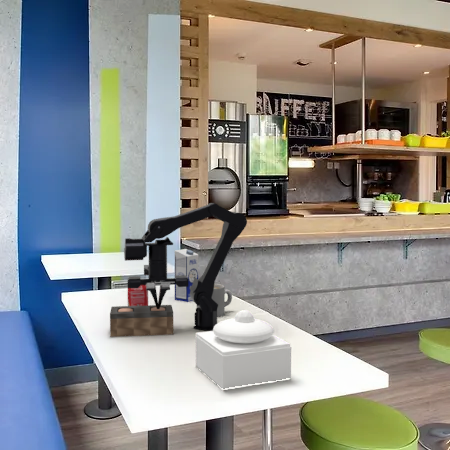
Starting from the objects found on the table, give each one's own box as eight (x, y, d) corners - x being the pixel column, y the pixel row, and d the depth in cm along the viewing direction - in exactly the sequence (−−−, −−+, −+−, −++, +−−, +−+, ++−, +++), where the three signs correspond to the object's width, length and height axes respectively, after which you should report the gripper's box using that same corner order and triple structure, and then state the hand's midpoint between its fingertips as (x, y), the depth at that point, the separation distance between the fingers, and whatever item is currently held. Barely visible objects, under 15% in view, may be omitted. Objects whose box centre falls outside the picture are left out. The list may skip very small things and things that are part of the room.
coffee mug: (200, 318, 187) (200, 289, 186) (193, 311, 196) (193, 284, 195) (237, 315, 191) (237, 287, 190) (228, 309, 200) (228, 282, 199)
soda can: (138, 313, 194) (138, 280, 193) (152, 316, 189) (152, 282, 188) (123, 316, 188) (123, 282, 187) (137, 320, 184) (136, 285, 183)
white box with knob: (223, 391, 121) (223, 322, 120) (194, 367, 138) (194, 305, 136) (291, 380, 128) (292, 314, 127) (256, 358, 145) (257, 299, 144)
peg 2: (164, 326, 173) (164, 306, 173) (165, 330, 169) (165, 310, 168) (150, 327, 172) (150, 307, 172) (151, 331, 168) (151, 310, 168)
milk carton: (185, 296, 222) (185, 248, 220) (198, 299, 218) (198, 249, 216) (174, 299, 216) (174, 250, 214) (187, 302, 212) (187, 251, 210)
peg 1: (132, 328, 172) (132, 307, 171) (132, 331, 167) (132, 311, 167) (118, 328, 171) (118, 308, 170) (118, 332, 167) (118, 311, 166)
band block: (171, 325, 176) (171, 304, 176) (173, 334, 166) (173, 311, 166) (111, 328, 173) (111, 306, 173) (110, 336, 163) (110, 314, 163)
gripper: (185, 255, 178) (185, 302, 180) (127, 256, 175) (128, 304, 177) (188, 260, 167) (188, 310, 169) (127, 261, 165) (127, 312, 166)
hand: (158, 308), depth 170 cm, fingers closed, pressing on peg 2
